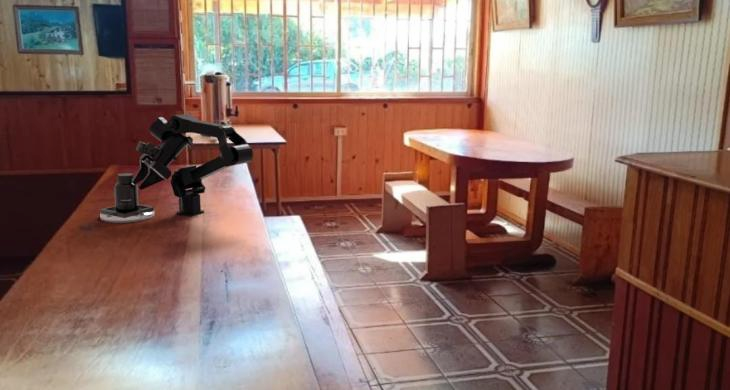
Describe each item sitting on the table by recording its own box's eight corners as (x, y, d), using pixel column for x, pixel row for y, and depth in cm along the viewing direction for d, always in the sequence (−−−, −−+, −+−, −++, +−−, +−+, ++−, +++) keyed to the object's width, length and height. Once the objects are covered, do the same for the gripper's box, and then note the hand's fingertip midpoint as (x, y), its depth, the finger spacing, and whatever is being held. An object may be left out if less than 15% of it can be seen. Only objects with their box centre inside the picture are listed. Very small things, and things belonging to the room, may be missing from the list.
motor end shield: (165, 214, 200) (164, 206, 199) (123, 225, 186) (122, 217, 186) (131, 208, 208) (131, 200, 207) (89, 218, 194) (88, 209, 194)
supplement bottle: (123, 215, 192) (121, 177, 189) (111, 212, 196) (108, 174, 193) (143, 211, 197) (141, 174, 195) (131, 208, 201) (128, 171, 199)
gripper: (144, 128, 203) (110, 164, 200) (158, 135, 187) (122, 175, 184) (170, 151, 208) (138, 186, 205) (185, 159, 193) (151, 198, 190)
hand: (136, 186), depth 196 cm, fingers open, 9 cm apart
